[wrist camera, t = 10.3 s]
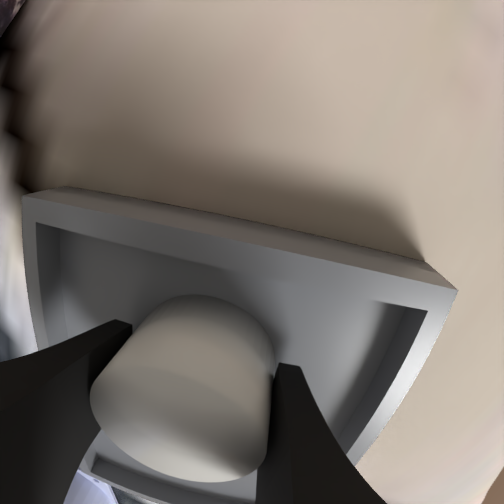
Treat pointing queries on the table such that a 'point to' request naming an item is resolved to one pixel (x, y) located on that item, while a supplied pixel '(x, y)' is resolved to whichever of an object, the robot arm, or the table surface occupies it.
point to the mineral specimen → (8, 12)
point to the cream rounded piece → (190, 391)
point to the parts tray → (242, 295)
